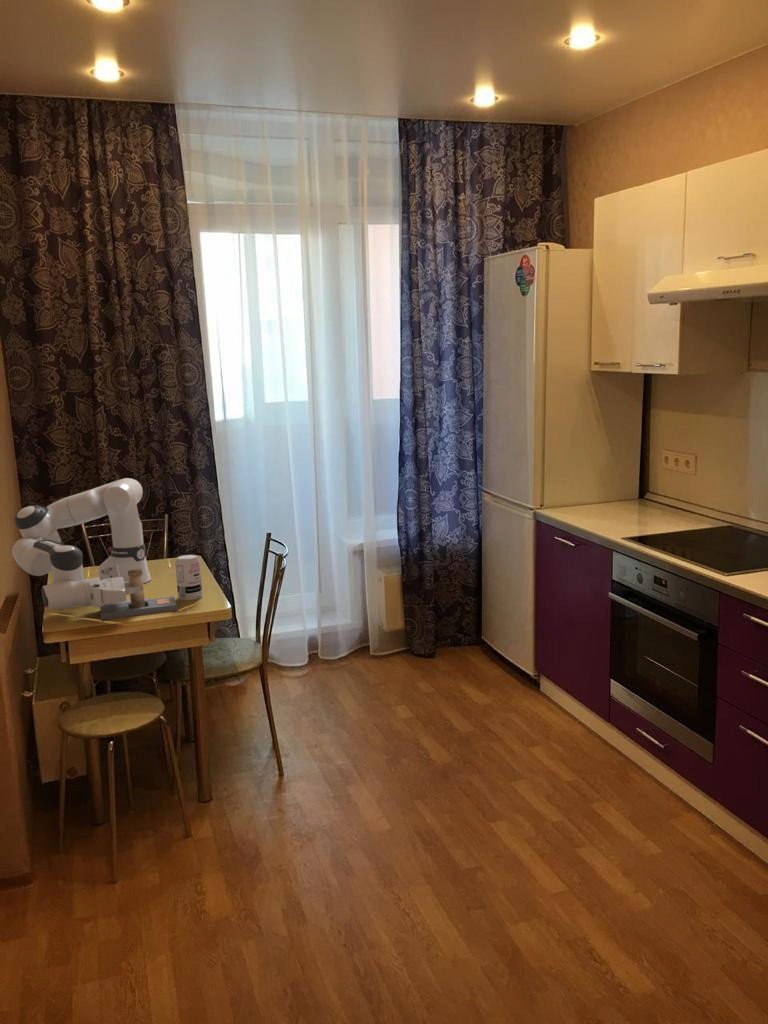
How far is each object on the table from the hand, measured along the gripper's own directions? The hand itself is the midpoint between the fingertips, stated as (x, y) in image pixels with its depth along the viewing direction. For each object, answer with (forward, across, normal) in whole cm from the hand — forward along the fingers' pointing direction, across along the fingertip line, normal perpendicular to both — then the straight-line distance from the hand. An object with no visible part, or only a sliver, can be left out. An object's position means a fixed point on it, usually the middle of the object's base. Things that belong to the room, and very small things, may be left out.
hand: (139, 586), depth 279 cm
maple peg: (-1, 0, -7) cm, 7 cm away
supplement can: (+17, -9, -9) cm, 21 cm away
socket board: (-1, 0, -9) cm, 9 cm away
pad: (-1, -11, -9) cm, 14 cm away
